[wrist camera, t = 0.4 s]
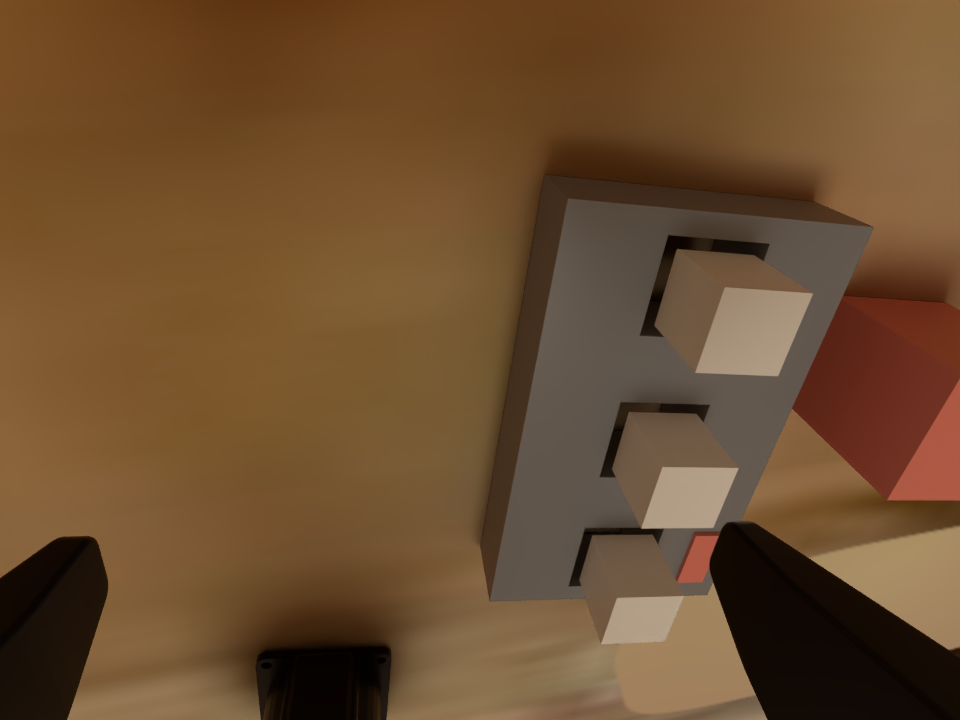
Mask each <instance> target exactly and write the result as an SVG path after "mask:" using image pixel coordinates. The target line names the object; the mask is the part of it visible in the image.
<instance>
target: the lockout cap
mask: <svg viewBox="0 0 960 720" xmlns="http://www.w3.org/2000/svg"><path fill="white" fill-rule="evenodd" d="M792 409H793V410H794V411H795V412H796V413H797V414H798V415H799V416H800V417H801V418H802V419H803V420H804V421H806V422H807V423H808V424H809V425H810V426H811V427H812V428H813V429H814V430H815V431H816V432H817V433H818V434H819V435H820V436H821V437H822V438H823V439H824V440H825V441H826V442H827V443H828V444H829V445H830V446H831V447H832V448H833V449H834V450H836V451H837V452H838V453H839V454H840V455H841V456H842V457H843V458H844V459H845V460H846V461H847V462H848V463H849V464H850V465H851V466H852V467H853V468H854V469H855V470H856V471H857V472H858V473H859V474H860V475H861V476H862V477H863V478H864V479H866V480H867V481H868V482H869V483H870V484H871V485H872V486H873V487H874V488H875V489H876V490H877V491H878V492H879V493H880V494H881V495H882V496H883V497H884V498H885V499H886V500H960V310H959V309H957V308H955V307H953V306H951V305H949V304H947V303H941V302H926V301H912V300H898V299H883V298H869V297H855V296H843V297H842V299H841V301H840V303H839V306H838V308H837V310H836V312H835V314H834V317H833V319H832V321H831V323H830V325H829V328H828V330H827V332H826V334H825V336H824V339H823V341H822V343H821V345H820V347H819V350H818V352H817V354H816V356H815V358H814V361H813V363H812V365H811V367H810V370H809V372H808V374H807V376H806V378H805V381H804V383H803V385H802V387H801V389H800V392H799V394H798V396H797V398H796V400H795V403H794V405H793V407H792Z"/></svg>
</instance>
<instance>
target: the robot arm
mask: <svg viewBox="0 0 960 720" xmlns="http://www.w3.org/2000/svg"><path fill="white" fill-rule="evenodd" d="M709 569H710V574H711V577H712V580H713V583H714V586H715V588H716V591H717V594H718V597H719V600H720V603H721V606H722V608H723V611H724V614H725V617H726V619H727V622H728V625H729V628H730V631H731V634H732V637H733V639H734V642H735V645H736V648H737V651H738V653H739V656H740V658H741V661H742V664H743V666H744V669H745V671H746V673H747V676H748V678H749V680H750V683H751V685H752V687H753V689H754V691H755V694H756V696H757V698H758V700H759V702H760V704H761V706H762V709H763V711H764V713H765V715H766V717H767V719H768V720H960V657H959V656H957V655H955V654H954V653H952V652H951V651H949V650H948V649H946V648H945V647H943V646H942V645H940V644H938V643H937V642H936V641H934V640H933V639H931V638H930V637H928V636H926V635H925V634H923V633H922V632H920V631H919V630H917V629H916V628H914V627H913V626H911V625H909V624H908V623H906V622H905V621H904V620H902V619H901V618H899V617H898V616H896V615H894V614H893V613H891V612H890V611H888V610H887V609H885V608H884V607H882V606H880V605H879V604H878V603H876V602H875V601H873V600H872V599H870V598H869V597H867V596H866V595H864V594H862V593H861V592H859V591H858V590H856V589H855V588H853V587H852V586H850V585H849V584H847V583H846V582H844V581H843V580H841V579H840V578H838V577H836V576H835V575H833V574H832V573H830V572H829V571H827V570H826V569H824V568H823V567H821V566H820V565H818V564H817V563H815V562H814V561H812V560H811V559H809V558H808V557H806V556H805V555H803V554H801V553H800V552H798V551H797V550H795V549H794V548H792V547H791V546H789V545H788V544H786V543H785V542H783V541H782V540H780V539H779V538H777V537H776V536H774V535H773V534H771V533H769V532H768V531H766V530H765V529H763V528H762V527H760V526H759V525H757V524H756V523H754V522H750V521H731V522H727V523H726V524H725V525H724V526H723V527H722V529H721V531H720V534H719V536H718V539H717V542H716V544H715V547H714V549H713V552H712V554H711V557H710V562H709ZM107 593H108V578H107V574H106V571H105V567H104V563H103V560H102V556H101V552H100V548H99V545H98V543H97V541H96V540H95V538H93V537H90V536H73V537H60V538H57V539H55V540H53V541H52V542H50V543H49V544H47V545H46V546H45V547H43V548H42V549H40V550H39V551H38V552H36V553H35V554H33V555H32V556H31V557H29V558H28V559H26V560H25V561H24V562H22V563H21V564H19V565H18V566H16V567H15V568H14V569H12V570H11V571H9V572H8V573H7V574H5V575H4V576H2V577H1V578H0V720H67V718H68V715H69V713H70V710H71V707H72V704H73V701H74V698H75V695H76V692H77V689H78V686H79V683H80V679H81V676H82V673H83V670H84V667H85V664H86V661H87V657H88V654H89V651H90V648H91V645H92V642H93V639H94V636H95V632H96V629H97V626H98V623H99V620H100V617H101V614H102V610H103V607H104V604H105V601H106V597H107ZM390 668H391V650H390V649H389V648H386V647H367V648H343V649H319V650H295V651H271V652H263V653H261V654H259V655H258V658H257V663H256V673H257V684H258V694H259V705H260V715H261V720H386V717H387V705H388V692H389V680H390Z"/></svg>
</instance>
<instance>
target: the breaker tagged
mask: <svg viewBox="0 0 960 720" xmlns="http://www.w3.org/2000/svg"><path fill="white" fill-rule="evenodd" d="M579 581H580V584H581V586H582V589H583V592H584V595H585V598H586V601H587V604H588V607H589V610H590V613H591V616H592V619H593V622H594V625H595V628H596V631H597V634H598V637H599V640H600V643H601V644H618V643H641V642H663V641H665V639H666V637H667V635H668V633H669V630H670V628H671V626H672V623H673V621H674V619H675V616H676V614H677V612H678V609H679V607H680V604H681V602H682V600H683V597H684V595H683V593H682V591H681V589H680V587H679V585H678V583H677V581H676V579H675V577H674V575H673V573H672V571H671V569H670V567H669V565H668V563H667V561H666V559H665V558H664V556H663V554H662V552H661V550H660V548H659V546H658V544H657V542H656V540H655V538H654V536H653V535H592V538H591V542H590V545H589V549H588V552H587V555H586V559H585V562H584V566H583V569H582V572H581V576H580V579H579Z"/></svg>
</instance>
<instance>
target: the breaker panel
mask: <svg viewBox="0 0 960 720" xmlns="http://www.w3.org/2000/svg"><path fill="white" fill-rule="evenodd" d="M873 228H874V227H872V226H870V225H868V224H865V223H863V222H861V221H858V220H856V219H854V218H851V217H849V216H847V215H844V214H842V213H840V212H837V211H835V210H833V209H830V208H828V207H826V206H823V205H821V204H819V203H816V202H811V201H801V200H791V199H781V198H771V197H761V196H752V195H742V194H732V193H722V192H712V191H702V190H692V189H682V188H672V187H662V186H652V185H642V184H632V183H622V182H612V181H602V180H592V179H582V178H572V177H563V176H553V175H544V179H543V185H542V191H541V197H540V202H539V208H538V214H537V220H536V226H535V232H534V237H533V243H532V249H531V255H530V261H529V267H528V272H527V278H526V284H525V290H524V296H523V301H522V307H521V313H520V319H519V325H518V331H517V336H516V342H515V348H514V354H513V360H512V366H511V371H510V377H509V383H508V389H507V395H506V400H505V406H504V412H503V418H502V424H501V430H500V435H499V441H498V447H497V453H496V459H495V465H494V470H493V476H492V482H491V488H490V494H489V500H488V505H487V511H486V517H485V523H484V529H483V534H482V540H481V546H480V548H481V554H482V559H483V565H484V571H485V577H486V583H487V589H488V594H489V600H490V601H522V600H556V599H586V598H585V595H584V592H583V589H582V586H581V584H580V581H579V579H580V576H581V572H582V569H583V566H584V562H585V559H586V555H587V552H588V549H589V545H590V542H591V538H592V535H653V536H654V538H655V540H656V542H657V544H658V546H659V548H660V550H661V552H662V554H663V556H664V558H665V559H666V561H667V563H668V565H669V567H670V569H671V571H672V573H673V575H674V577H675V579H676V581H677V583H678V585H679V587H680V589H681V591H682V593H683V595H684V596H689V595H691V596H692V595H707V594H708V592H709V590H710V588H711V585H712V583H713V580H712V577H711V574H710V569H709V562H710V557H711V554H712V552H713V549H714V547H715V544H716V542H717V539H718V536H719V534H720V531H721V529H722V527H723V526H724V525H725V524H726V523H727V522H731V521H741V519H742V517H743V515H744V513H745V511H746V508H747V506H748V504H749V502H750V500H751V497H752V495H753V493H754V491H755V488H756V486H757V484H758V482H759V480H760V477H761V475H762V473H763V471H764V469H765V466H766V464H767V462H768V460H769V458H770V455H771V453H772V451H773V449H774V447H775V444H776V442H777V440H778V438H779V436H780V433H781V431H782V429H783V427H784V425H785V422H786V420H787V418H788V416H789V414H790V411H791V409H792V407H793V405H794V403H795V400H796V398H797V396H798V394H799V392H800V389H801V387H802V385H803V383H804V381H805V378H806V376H807V374H808V372H809V370H810V367H811V365H812V363H813V361H814V358H815V356H816V354H817V352H818V350H819V347H820V345H821V343H822V341H823V339H824V336H825V334H826V332H827V330H828V328H829V325H830V323H831V321H832V319H833V317H834V314H835V312H836V310H837V308H838V306H839V303H840V301H841V299H842V297H843V295H844V292H845V290H846V288H847V286H848V284H849V281H850V279H851V277H852V275H853V273H854V270H855V268H856V266H857V264H858V262H859V259H860V257H861V255H862V253H863V251H864V248H865V246H866V244H867V242H868V240H869V237H870V235H871V233H872V231H873ZM668 235H673V236H685V237H696V238H708V239H716V240H715V243H714V246H713V249H712V252H721V253H734V254H746V255H755V256H756V257H758V258H759V259H761V260H762V261H764V262H765V263H767V264H769V265H770V266H772V267H773V268H775V269H776V270H778V271H779V272H781V273H782V274H784V275H786V276H787V277H789V278H790V279H792V280H793V281H795V282H796V283H798V284H799V285H801V286H803V287H804V288H806V289H807V290H809V291H810V292H812V293H813V295H812V298H811V300H810V302H809V305H808V307H807V309H806V312H805V314H804V316H803V319H802V321H801V323H800V326H799V328H798V330H797V333H796V335H795V337H794V340H793V342H792V344H791V347H790V349H789V351H788V354H787V356H786V358H785V361H784V363H783V366H782V368H781V370H780V373H779V375H778V376H759V375H735V374H711V373H695V372H694V371H693V370H692V369H691V367H690V366H689V365H688V364H687V363H686V362H685V360H684V359H683V358H682V357H681V356H680V355H679V354H678V352H677V351H676V350H675V349H674V348H673V347H672V345H671V344H670V343H669V342H668V341H667V340H666V338H665V337H664V336H663V335H662V334H661V333H660V332H659V330H658V329H657V328H656V327H655V326H654V325H655V321H656V318H657V315H658V311H659V308H660V304H661V302H655V301H650V298H651V294H652V291H653V287H654V284H655V280H656V277H657V273H658V270H659V266H660V263H661V259H662V256H663V252H664V248H665V245H666V241H667V238H668ZM621 402H635V403H662V406H661V409H660V412H659V413H686V414H697V415H698V416H699V418H700V419H701V420H702V421H703V423H704V424H705V425H706V427H707V428H708V429H709V430H710V432H711V433H712V434H713V436H714V437H715V438H716V439H717V441H718V442H719V443H720V445H721V446H722V447H723V448H724V450H725V451H726V452H727V454H728V455H729V456H730V457H731V459H732V460H733V461H734V463H735V464H736V465H737V466H738V468H739V469H738V471H737V473H736V476H735V478H734V480H733V483H732V485H731V487H730V490H729V492H728V494H727V497H726V499H725V501H724V504H723V506H722V508H721V511H720V513H719V515H718V518H717V520H716V523H715V525H714V527H713V528H649V529H641V527H640V525H639V523H638V521H637V519H636V517H635V515H634V513H633V511H632V509H631V507H630V505H629V503H628V501H627V499H626V497H625V495H624V493H623V491H622V489H621V487H620V485H619V483H618V481H617V479H616V477H615V475H614V473H613V471H612V467H613V464H614V460H615V457H616V454H617V450H618V447H619V443H620V440H621V437H622V433H623V431H613V428H614V424H615V421H616V417H617V414H618V410H619V407H620V403H621ZM585 528H622V529H621V532H620V533H587V534H583V533H584V530H585Z"/></svg>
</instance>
